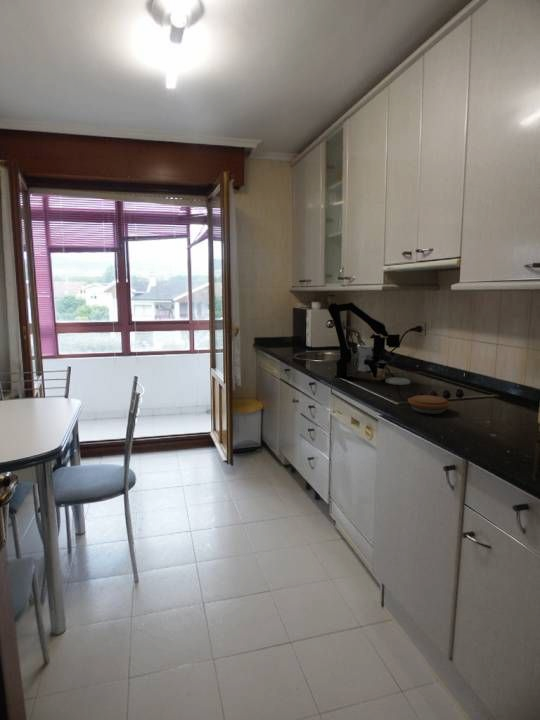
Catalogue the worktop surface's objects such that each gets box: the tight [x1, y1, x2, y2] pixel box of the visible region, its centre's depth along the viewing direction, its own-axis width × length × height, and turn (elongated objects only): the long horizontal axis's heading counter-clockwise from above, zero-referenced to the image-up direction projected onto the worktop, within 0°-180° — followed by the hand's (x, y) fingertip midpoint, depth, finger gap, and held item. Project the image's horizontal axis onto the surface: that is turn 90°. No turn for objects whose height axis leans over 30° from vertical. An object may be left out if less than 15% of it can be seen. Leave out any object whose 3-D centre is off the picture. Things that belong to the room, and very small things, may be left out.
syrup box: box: [357, 344, 373, 373], centre depth 255 cm, size 6×6×14 cm
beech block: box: [370, 368, 386, 381], centre depth 233 cm, size 5×5×5 cm
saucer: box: [384, 377, 411, 386], centre depth 224 cm, size 12×12×1 cm
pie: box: [407, 394, 451, 415], centre depth 172 cm, size 15×16×5 cm
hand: (377, 376), depth 233 cm, fingers closed on beech block, 5 cm apart
